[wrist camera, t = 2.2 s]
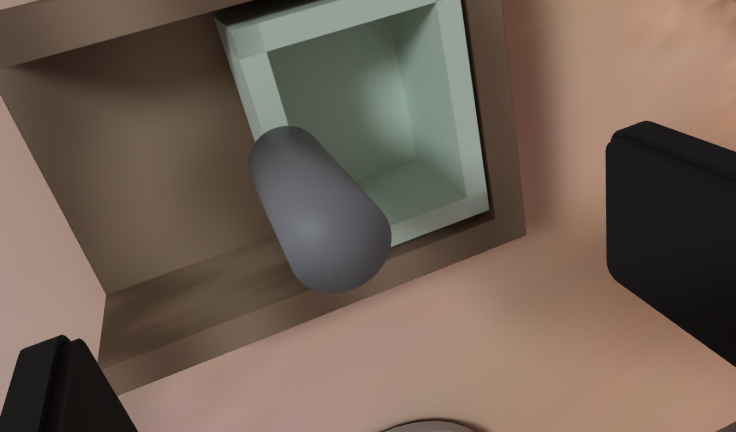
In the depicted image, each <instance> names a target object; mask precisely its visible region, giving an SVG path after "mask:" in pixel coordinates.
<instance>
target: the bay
mask: <svg viewBox="0 0 736 432" xmlns="http://www.w3.org/2000/svg"><path fill="white" fill-rule="evenodd" d="M264 1H267V0H39V1H35V2H31V3H27V4H23V5H19V6H15V7H11V8H7V9H3V10H0V95H1V97H2V99H3V101H4V103H5V105H6V106H7V108H8V110H9V112H10V114H11V116H12V118H13V120H14V122H15V123H16V125H17V127H18V129H19V131H20V133H21V135H22V137H23V139H24V140H25V142H26V144H27V146H28V148H29V150H30V152H31V154H32V156H33V157H34V159H35V161H36V163H37V165H38V167H39V169H40V171H41V172H42V174H43V176H44V178H45V180H46V182H47V184H48V186H49V188H50V189H51V191H52V193H53V195H54V197H55V199H56V201H57V203H58V205H59V206H60V208H61V210H62V212H63V214H64V216H65V218H66V220H67V222H68V223H69V225H70V227H71V229H72V231H73V233H74V235H75V237H76V239H77V240H78V242H79V244H80V246H81V248H82V250H83V252H84V254H85V256H86V257H87V259H88V261H89V263H90V265H91V267H92V269H93V271H94V273H95V274H96V276H97V278H98V280H99V282H100V284H101V286H102V288H103V290H104V291H105V293H106V301H105V309H104V317H103V324H102V332H101V340H100V347H99V355H98V365H99V367H100V368H101V370H102V372H103V373H104V375H105V377H106V378H107V380H108V382H109V383H110V385H111V387H112V389H113V390H114V392H115V394H116V395H117V396H119V395H121V394H124V393H126V392H129V391H131V390H134V389H136V388H139V387H141V386H144V385H146V384H149V383H152V382H154V381H157V380H159V379H162V378H164V377H167V376H169V375H172V374H174V373H177V372H179V371H182V370H185V369H187V368H190V367H192V366H195V365H197V364H200V363H202V362H205V361H207V360H210V359H212V358H215V357H218V356H220V355H223V354H225V353H228V352H230V351H233V350H235V349H238V348H240V347H243V346H246V345H248V344H251V343H253V342H256V341H258V340H261V339H263V338H266V337H268V336H271V335H273V334H276V333H279V332H281V331H284V330H286V329H289V328H291V327H294V326H296V325H299V324H301V323H304V322H306V321H309V320H312V319H314V318H317V317H319V316H322V315H324V314H327V313H329V312H332V311H334V310H337V309H340V308H342V307H345V306H347V305H350V304H352V303H355V302H357V301H360V300H362V299H365V298H367V297H370V296H373V295H375V294H378V293H380V292H383V291H385V290H388V289H390V288H393V287H395V286H398V285H400V284H403V283H406V282H408V281H411V280H413V279H416V278H418V277H421V276H423V275H426V274H428V273H431V272H433V271H436V270H439V269H441V268H444V267H446V266H449V265H451V264H454V263H456V262H459V261H461V260H464V259H467V258H469V257H472V256H474V255H477V254H479V253H482V252H484V251H487V250H489V249H492V248H494V247H497V246H500V245H502V244H505V243H507V242H510V241H512V240H515V239H517V238H520V237H522V236H525V235H526V229H525V219H524V210H523V200H522V191H521V181H520V172H519V163H518V153H517V144H516V134H515V125H514V115H513V106H512V97H511V87H510V78H509V68H508V59H507V49H506V40H505V30H504V21H503V12H502V2H501V0H461V7H462V14H463V22H464V29H465V36H466V44H467V51H468V58H469V65H470V73H471V80H472V87H473V95H474V102H475V109H476V116H477V124H478V131H479V138H480V146H481V153H482V160H483V167H484V175H485V182H486V189H487V197H488V204H489V210H487V211H485V212H482V213H479V214H477V215H474V216H471V217H469V218H466V219H464V220H461V221H458V222H456V223H453V224H450V225H448V226H445V227H442V228H440V229H437V230H434V231H432V232H429V233H427V234H424V235H421V236H419V237H416V238H413V239H411V240H408V241H405V242H403V243H400V244H397V245H395V246H392V247H391V248H390V252H389V255H388V257H387V259H386V261H385V263H384V265H383V266H382V268H381V269H380V270H379V272H378V273H377V274H376V275H375V276H374V277H373V278H372V279H371V280H369V281H368V282H367V283H365V284H363V285H362V286H360V287H358V288H356V289H354V290H351V291H347V292H343V293H335V294H332V293H322V292H318V291H315V290H313V289H310V288H309V287H307V286H305V285H304V284H303V283H302V282H300V281H299V279H298V278H297V277H296V276H295V274H294V273H293V271H292V269H291V267H290V265H289V262H288V260H287V258H286V256H285V254H284V251H283V249H282V247H281V245H280V243H279V240H278V238H277V236H276V234H275V231H274V229H273V227H272V225H271V223H270V220H269V218H268V216H267V214H266V212H265V209H264V207H263V205H262V203H261V201H260V198H259V196H258V194H257V192H256V190H255V187H254V185H253V183H252V181H251V179H250V176H249V173H248V156H249V153H250V150H251V148H252V146H253V145H254V143H255V140H254V137H253V134H252V131H251V128H250V125H249V122H248V119H247V116H246V113H245V110H244V107H243V104H242V101H241V98H240V95H239V92H238V89H237V86H236V83H235V80H234V77H233V74H232V71H231V68H230V65H229V62H228V59H227V56H226V53H225V50H224V47H223V44H222V41H221V38H220V35H219V32H218V29H217V26H216V23H215V20H214V17H213V15H217V14H220V13H224V12H228V11H231V10H235V9H238V8H242V7H246V6H249V5H253V4H257V3H260V2H264Z"/></svg>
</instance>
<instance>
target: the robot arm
mask: <svg viewBox="0 0 736 432" xmlns="http://www.w3.org/2000/svg"><path fill="white" fill-rule="evenodd" d="M606 241H607V267H608V270H609V272H610V274H611V275H612V277H613V278H614V279H615V280H616V281H617V282H618V283H620V284H621V285H622V286H624V287H625V288H627V289H628V290H629V291H631V292H632V293H634V294H635V295H636V296H638V297H639V298H641V299H642V300H643V301H645V302H646V303H647V304H649V305H650V306H652V307H653V308H654V309H656V310H657V311H659V312H660V313H661V314H663V315H664V316H665V317H667V318H668V319H670V320H671V321H672V322H674V323H675V324H677V325H678V326H679V327H681V328H682V329H683V330H685V331H686V332H688V333H689V334H690V335H692V336H693V337H695V338H696V339H697V340H699V341H700V342H701V343H703V344H704V345H706V346H707V347H708V348H710V349H711V350H713V351H714V352H715V353H717V354H718V355H720V356H721V357H722V358H724V359H725V360H726V361H728V362H729V363H731V364H732V365H733V366H735V367H736V152H734V151H732V150H729V149H726V148H723V147H720V146H718V145H715V144H712V143H709V142H707V141H704V140H701V139H698V138H695V137H693V136H690V135H687V134H684V133H681V132H679V131H676V130H673V129H670V128H667V127H665V126H662V125H659V124H656V123H654V122H650V121H643V122H640V123H637V124H634V125H632V126H629V127H626V128H624V129H621V130H618V131H616V132H615V133H614V134H613V136H612V138H611V142H610V143H608V145H607V147H606ZM0 432H138V431H137V429H136V427H135V426H134V424H133V422H132V421H131V419H130V417H129V416H128V414H127V412H126V410H125V409H124V407H123V405H122V404H121V402H120V400H119V399H118V397H117V395H116V394H115V392H114V390H113V389H112V387H111V385H110V383H109V382H108V380H107V378H106V377H105V375H104V373H103V372H102V370H101V368H100V367H99V365H98V363H97V362H96V360H95V358H94V356H93V355H92V353H91V351H90V350H89V348H88V346H87V345H86V343H85V342H84V341H83V340H82V339H76V340H74V341H70V340H69V339H68V338H67V337H66V336H64V335H60V336H57V337H54V338H51V339H49V340H46V341H43V342H40V343H38V344H35V345H32V346H30V347H27V348H24V349H22V350H21V351H20V353H19V356H18V359H17V362H16V366H15V369H14V372H13V376H12V379H11V383H10V386H9V389H8V393H7V396H6V399H5V403H4V406H3V409H2V413H1V416H0ZM385 432H474V431H472V430H470V429H469V428H467V427H465V426H461V425H458V424H455V423H452V422H442V421H426V422H415V423H411V424H407V425H403V426H399V427H395V428H392V429H390V430H387V431H385ZM716 432H736V422H734V423H732V424H730V425H728V426H726V427H724V428H722V429H720V430H718V431H716Z"/></svg>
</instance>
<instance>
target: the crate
mask: <svg viewBox="0 0 736 432" xmlns="http://www.w3.org/2000/svg"><path fill="white" fill-rule="evenodd" d="M213 17H214V20H215V23H216V26H217V29H218V32H219V35H220V38H221V41H222V44H223V47H224V50H225V53H226V56H227V59H228V62H229V65H230V68H231V71H232V74H233V77H234V80H235V83H236V86H237V89H238V92H239V95H240V98H241V101H242V104H243V107H244V110H245V113H246V116H247V119H248V122H249V125H250V128H251V131H252V134H253V137H254V140H255V143H254V145H253V146H252V148H251V150H250V153H249V156H248V173H249V176H250V179H251V181H252V183H253V185H254V187H255V190H256V192H257V194H258V196H259V198H260V201H261V203H262V205H263V207H264V209H265V212H266V214H267V216H268V218H269V220H270V223H271V225H272V227H273V229H274V231H275V234H276V236H277V238H278V240H279V243H280V245H281V247H282V249H283V251H284V254H285V256H286V258H287V260H288V262H289V265H290V267H291V269H292V271H293V273H294V274H295V276H296V277H297V278H298V279H299V281H300V282H302V283H303V284H304V285H305V286H307V287H309V288H310V289H313V290H315V291H318V292H322V293H332V294H335V293H343V292H347V291H351V290H354V289H356V288H358V287H360V286H362V285H363V284H365V283H367V282H368V281H369V280H371V279H372V278H373V277H374V276H375V275H376V274H377V273H378V272H379V270H380V269H381V268H382V266H383V265H384V263H385V261H386V259H387V257H388V255H389V252H390V248H391V247H392V246H395V245H397V244H400V243H403V242H405V241H408V240H411V239H413V238H416V237H419V236H421V235H424V234H427V233H429V232H432V231H434V230H437V229H440V228H442V227H445V226H448V225H450V224H453V223H456V222H458V221H461V220H464V219H466V218H469V217H471V216H474V215H477V214H479V213H482V212H485V211H487V210H489V204H488V197H487V189H486V182H485V175H484V167H483V160H482V153H481V146H480V138H479V131H478V124H477V116H476V109H475V102H474V95H473V87H472V80H471V73H470V65H469V58H468V51H467V44H466V36H465V29H464V22H463V14H462V7H461V0H267V1H264V2H260V3H257V4H253V5H249V6H246V7H242V8H238V9H235V10H231V11H228V12H224V13H220V14H217V15H213Z"/></svg>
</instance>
